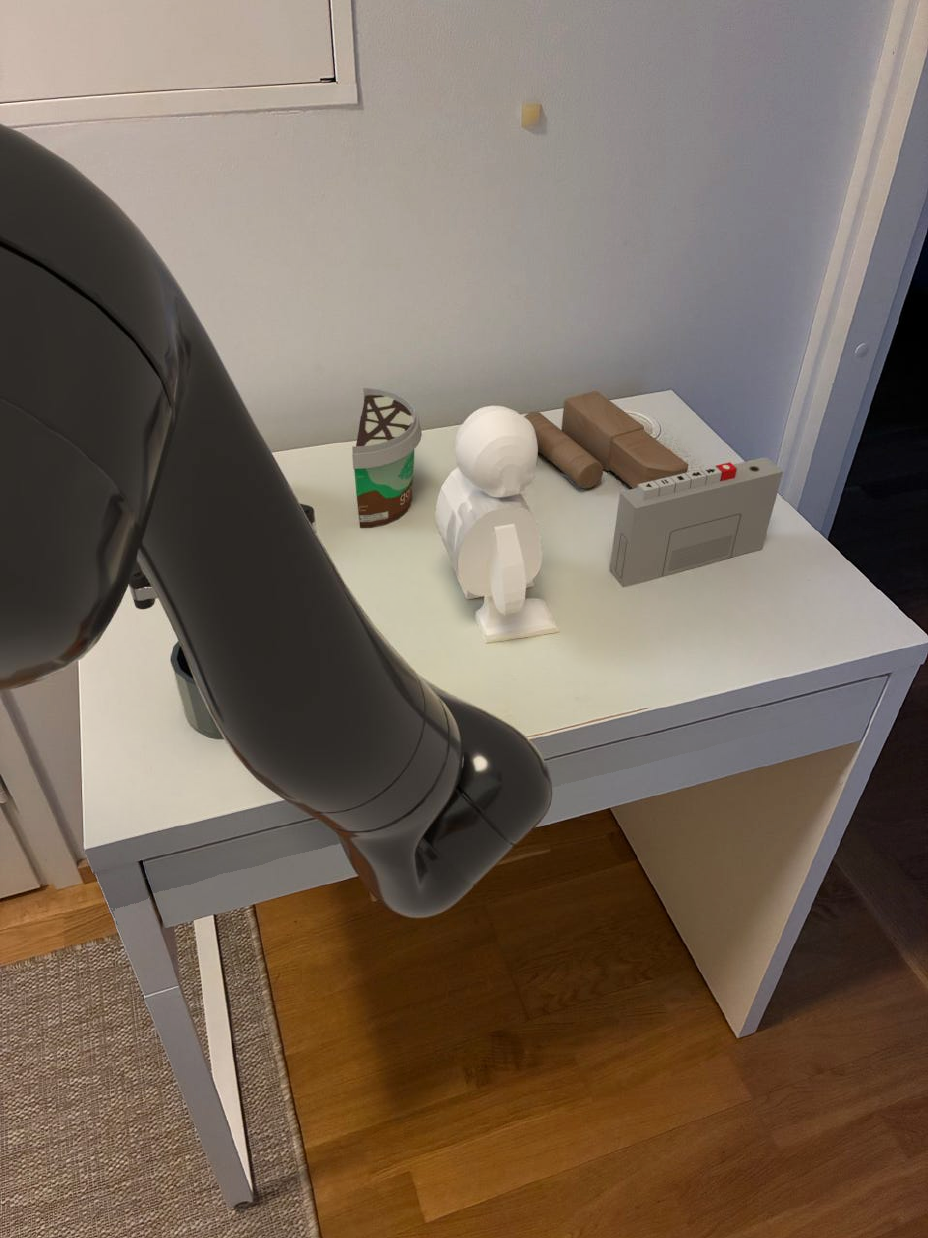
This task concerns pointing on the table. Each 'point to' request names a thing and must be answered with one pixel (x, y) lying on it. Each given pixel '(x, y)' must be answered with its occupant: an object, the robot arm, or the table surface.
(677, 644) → the table surface
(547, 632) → the toy robot
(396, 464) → the food container
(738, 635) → the table surface
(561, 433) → the wooden block set
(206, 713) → the crock
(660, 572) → the cassette player
